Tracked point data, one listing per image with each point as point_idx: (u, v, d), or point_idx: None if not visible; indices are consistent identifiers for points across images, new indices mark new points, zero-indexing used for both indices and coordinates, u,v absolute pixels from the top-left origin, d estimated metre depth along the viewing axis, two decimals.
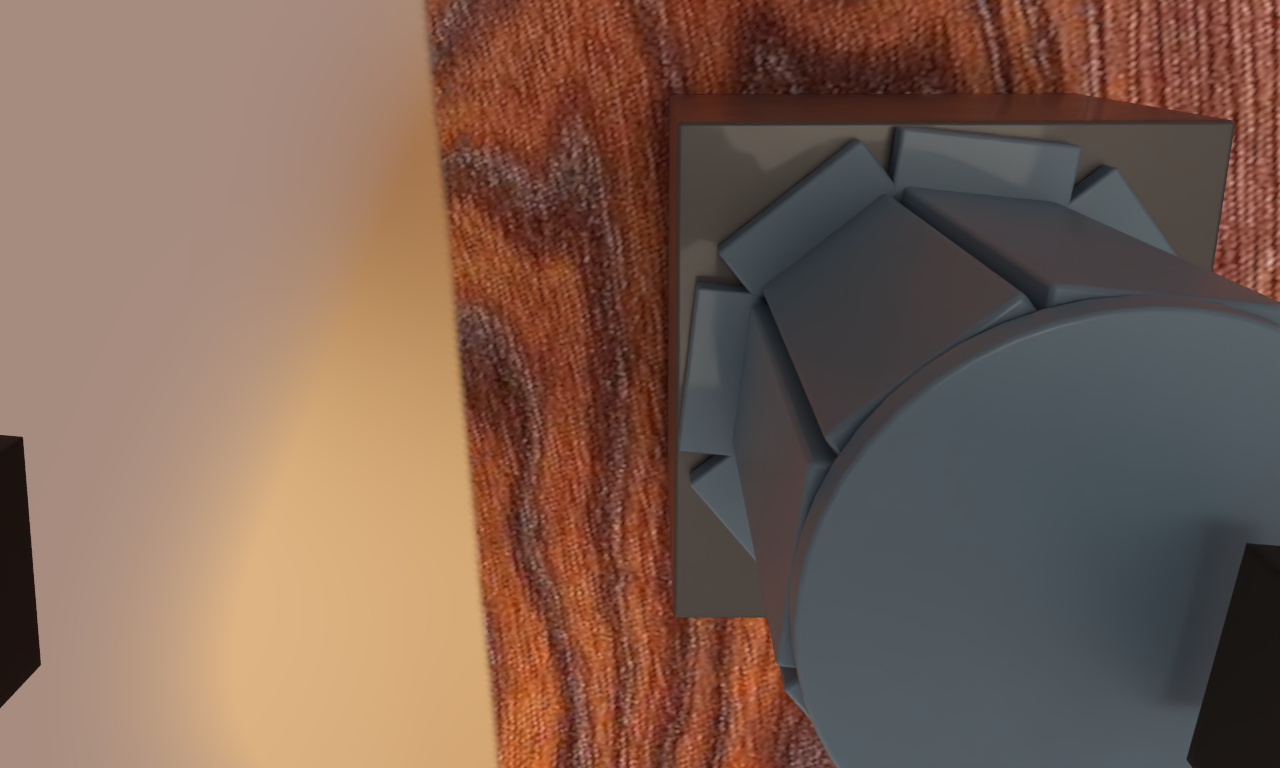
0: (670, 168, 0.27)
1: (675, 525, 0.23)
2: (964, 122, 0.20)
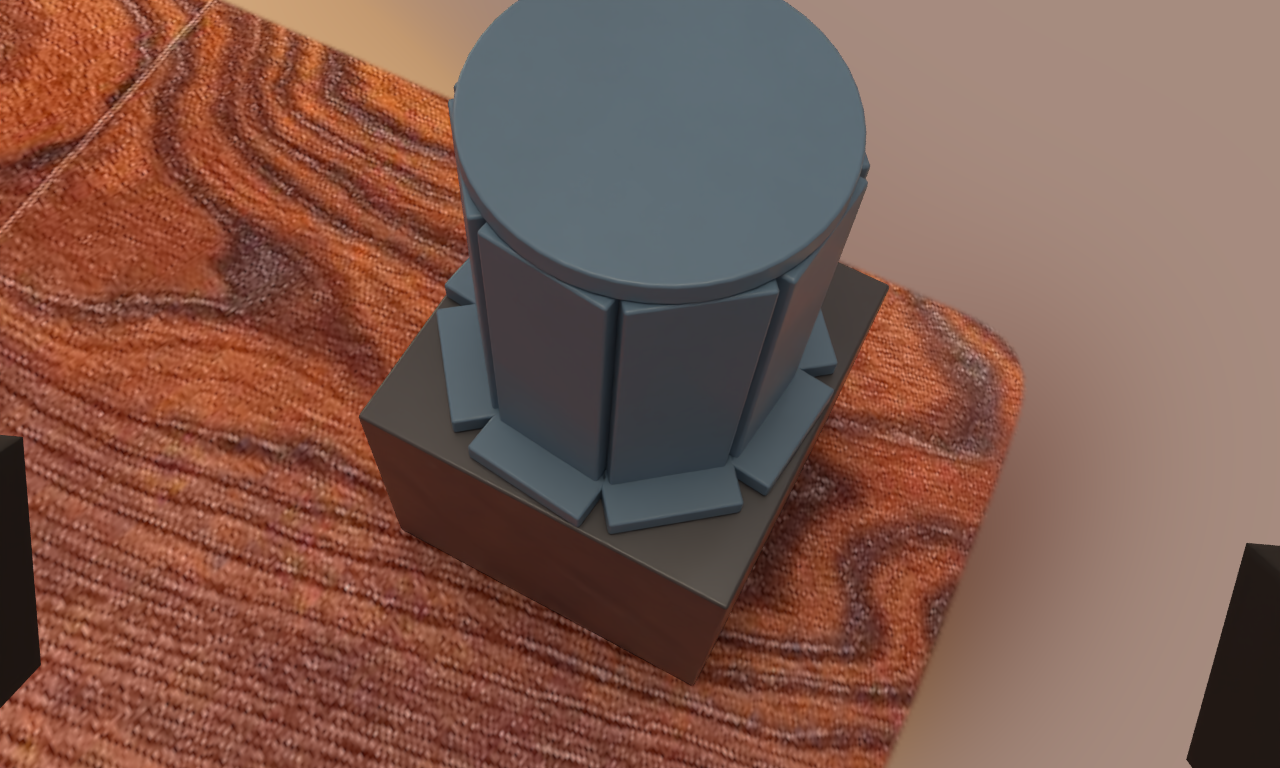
0: None
1: None
2: (811, 440, 0.28)
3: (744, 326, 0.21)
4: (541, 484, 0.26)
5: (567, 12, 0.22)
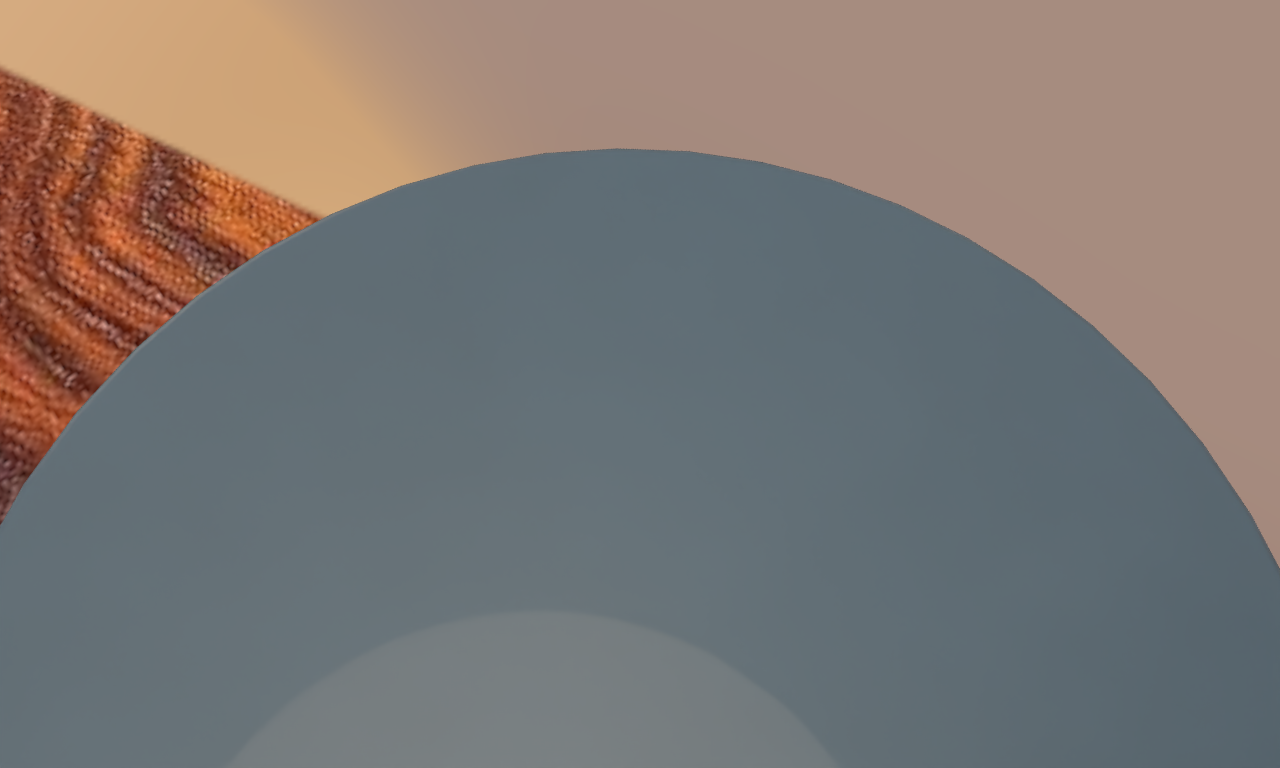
0: None
1: None
2: None
3: None
4: None
5: (367, 322, 0.07)
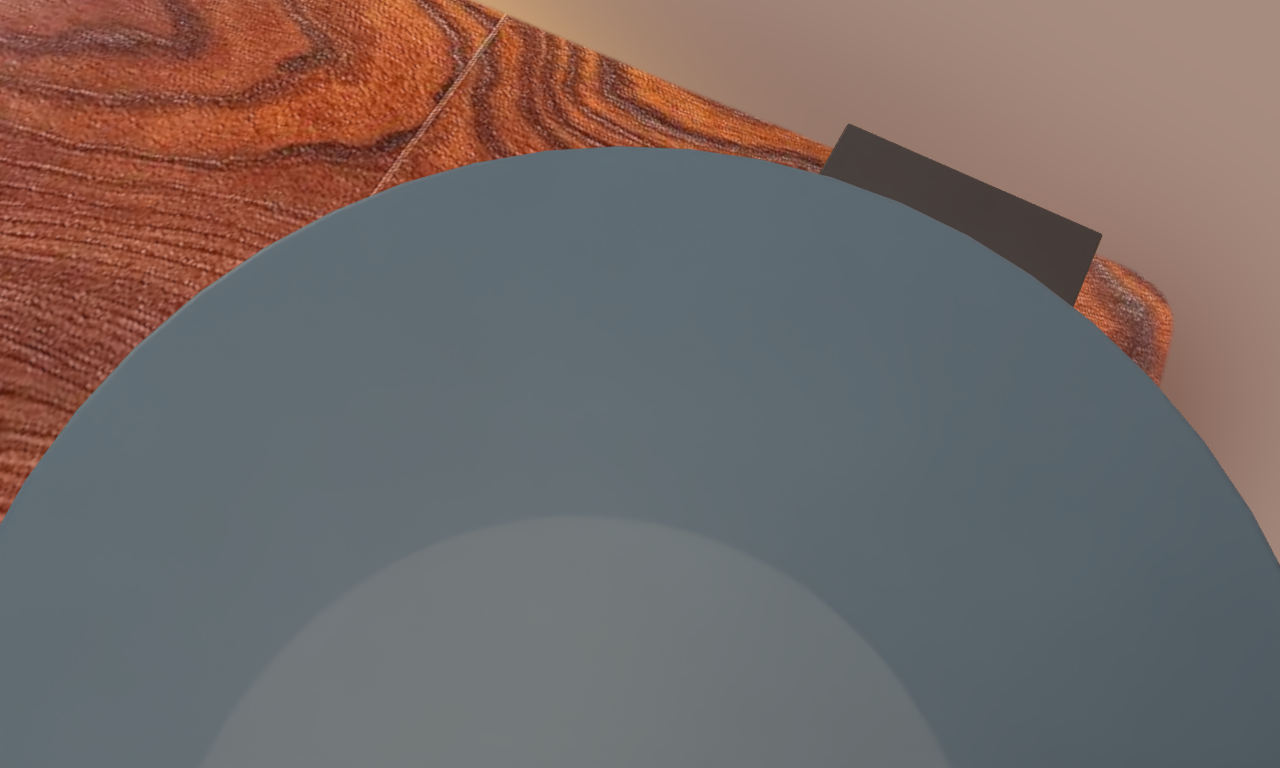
0: None
1: None
2: None
3: None
4: None
5: (369, 320, 0.07)
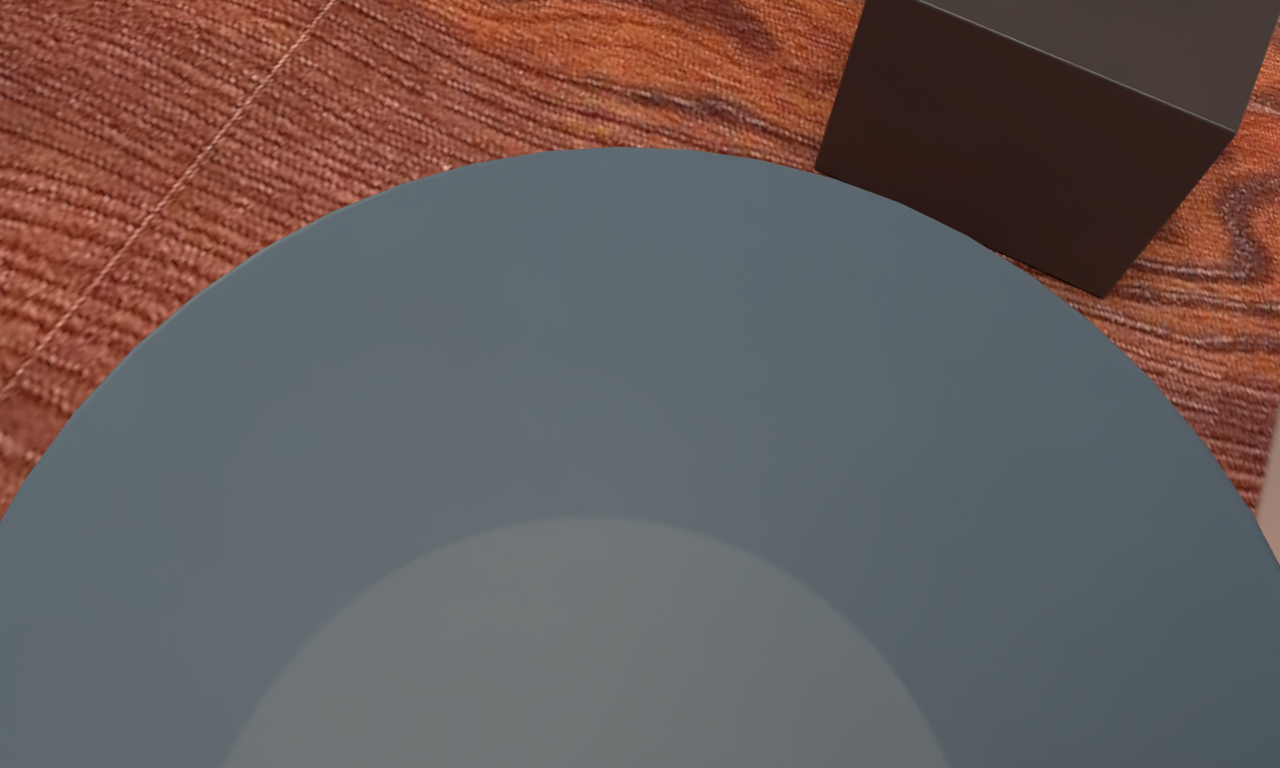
0: None
1: None
2: None
3: None
4: None
5: (367, 320, 0.07)
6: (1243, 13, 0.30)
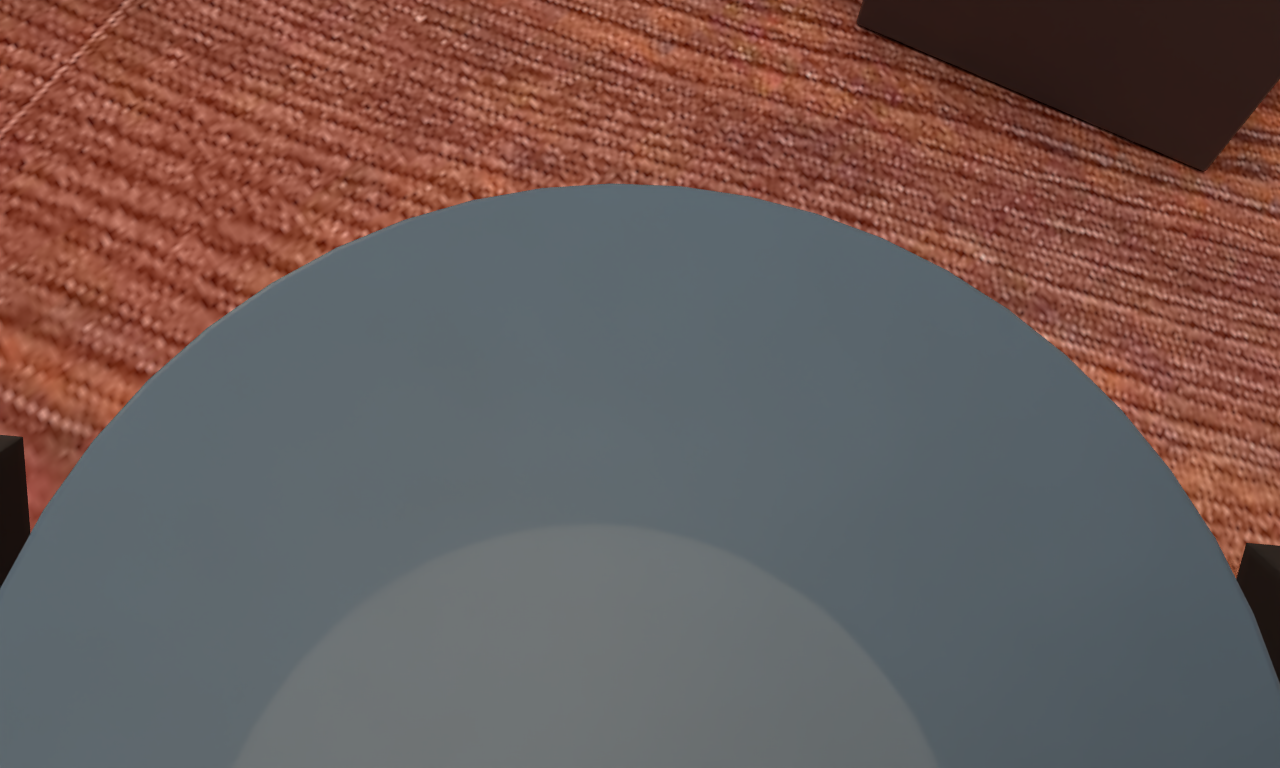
0: None
1: None
2: None
3: None
4: None
5: (371, 354, 0.07)
6: None
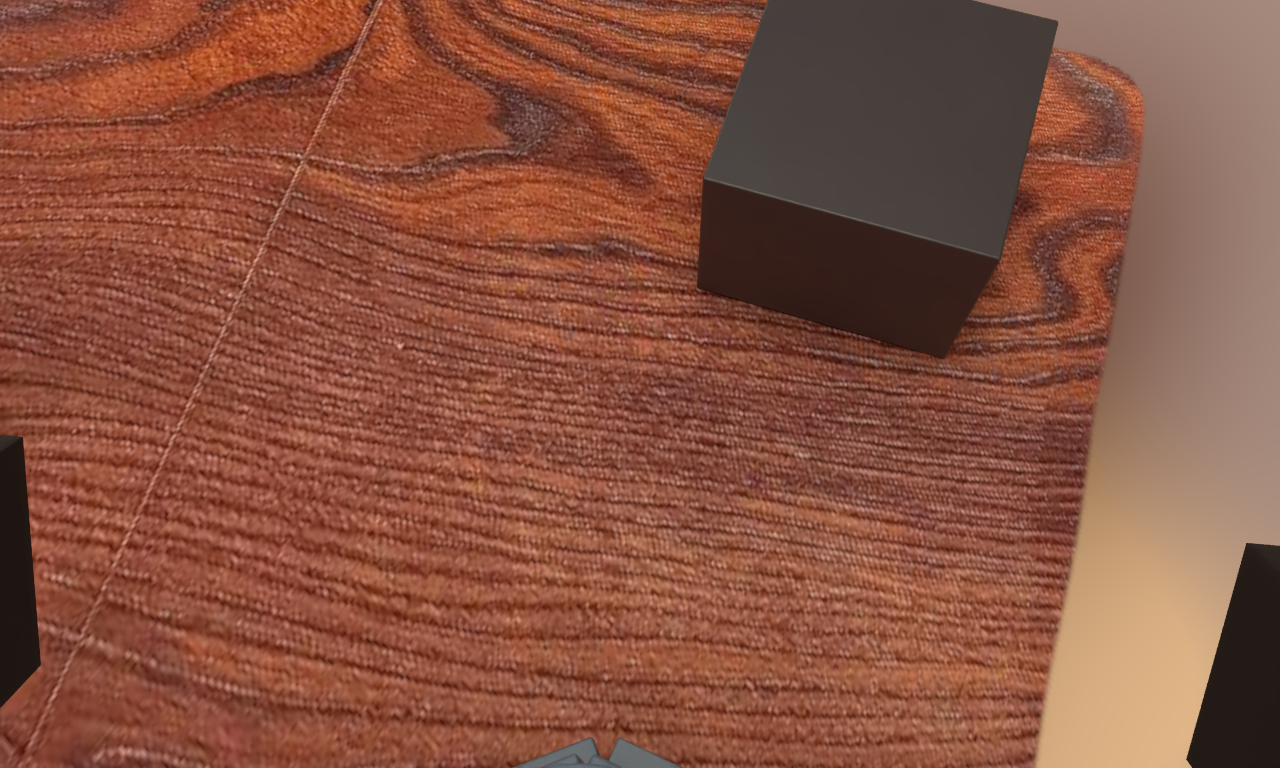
0: None
1: None
2: (1029, 138, 0.38)
3: None
4: None
5: None
6: (1000, 147, 0.38)
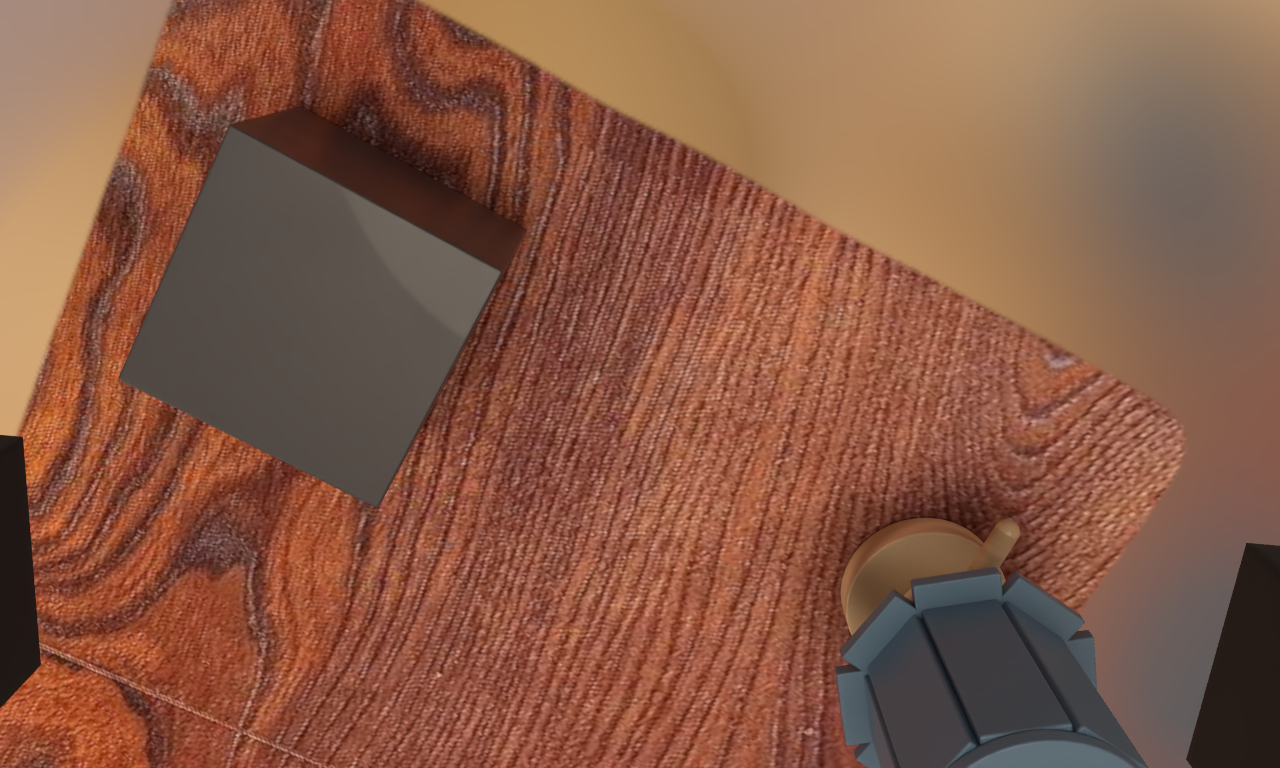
0: None
1: (140, 329, 0.39)
2: (373, 201, 0.38)
3: None
4: None
5: None
6: (379, 234, 0.38)
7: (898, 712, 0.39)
